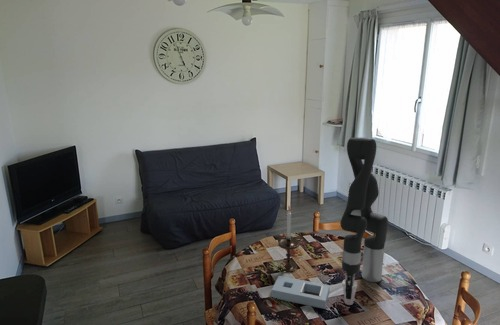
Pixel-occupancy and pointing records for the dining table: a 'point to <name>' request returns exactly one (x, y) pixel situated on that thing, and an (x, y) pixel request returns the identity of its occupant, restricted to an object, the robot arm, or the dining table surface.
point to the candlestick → (288, 245)
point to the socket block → (300, 291)
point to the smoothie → (350, 301)
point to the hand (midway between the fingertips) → (349, 294)
